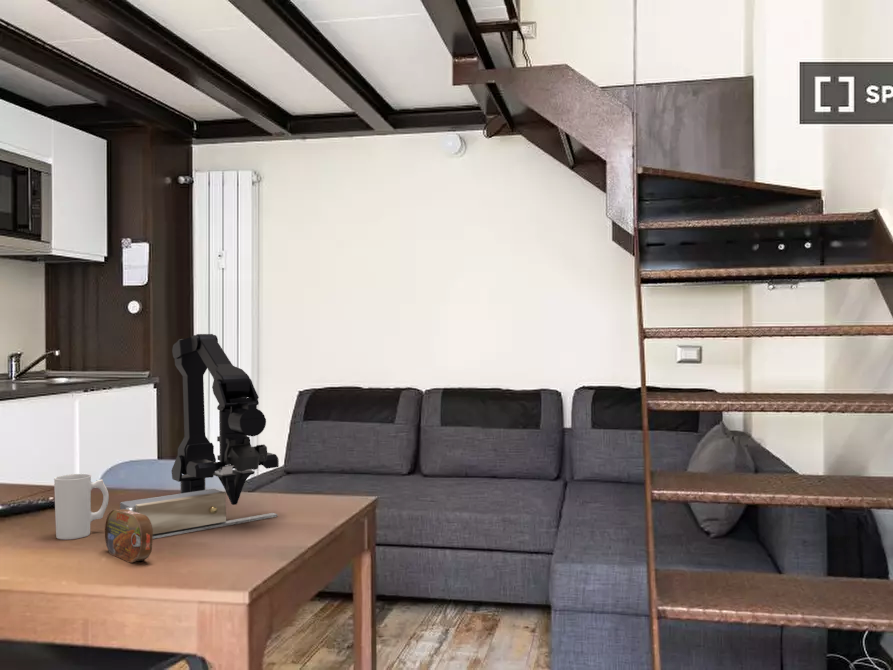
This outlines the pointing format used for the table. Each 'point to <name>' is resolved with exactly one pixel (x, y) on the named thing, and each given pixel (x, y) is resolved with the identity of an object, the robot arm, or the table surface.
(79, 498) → the mug
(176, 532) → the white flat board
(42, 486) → the table surface
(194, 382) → the robot arm
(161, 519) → the door
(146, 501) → the cabinet
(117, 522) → the tin
